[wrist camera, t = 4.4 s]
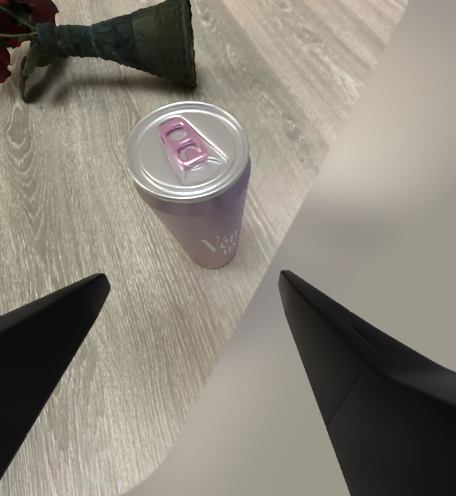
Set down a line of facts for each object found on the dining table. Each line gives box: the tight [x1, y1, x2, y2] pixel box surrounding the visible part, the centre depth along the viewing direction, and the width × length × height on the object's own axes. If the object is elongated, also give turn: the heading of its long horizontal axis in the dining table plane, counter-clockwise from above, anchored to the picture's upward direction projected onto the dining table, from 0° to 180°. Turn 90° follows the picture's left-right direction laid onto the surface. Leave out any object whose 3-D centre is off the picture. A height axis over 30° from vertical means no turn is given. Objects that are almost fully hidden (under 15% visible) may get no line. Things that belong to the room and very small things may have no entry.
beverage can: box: [124, 101, 251, 269], centre depth 15 cm, size 6×6×15 cm
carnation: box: [0, 0, 197, 103], centre depth 26 cm, size 16×18×35 cm
